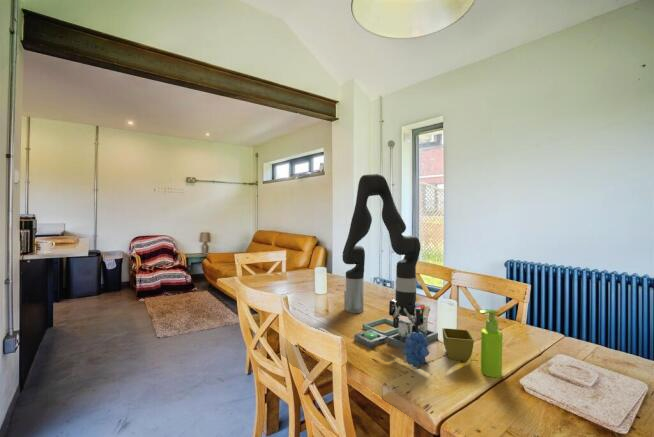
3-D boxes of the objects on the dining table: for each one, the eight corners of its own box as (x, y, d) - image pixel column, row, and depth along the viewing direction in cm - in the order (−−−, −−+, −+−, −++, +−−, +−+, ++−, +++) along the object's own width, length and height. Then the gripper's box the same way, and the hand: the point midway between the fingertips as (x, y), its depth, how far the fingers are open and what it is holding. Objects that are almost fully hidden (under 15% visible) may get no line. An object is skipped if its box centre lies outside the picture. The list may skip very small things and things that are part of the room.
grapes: (415, 378, 94) (415, 339, 94) (398, 369, 100) (398, 332, 99) (438, 367, 101) (439, 331, 100) (421, 359, 106) (421, 325, 106)
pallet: (406, 354, 110) (406, 345, 110) (387, 345, 117) (387, 337, 117) (437, 341, 121) (438, 332, 121) (418, 334, 128) (418, 326, 128)
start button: (361, 341, 120) (361, 334, 120) (370, 338, 123) (370, 331, 123) (370, 346, 116) (370, 338, 116) (380, 342, 119) (380, 335, 119)
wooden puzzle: (389, 316, 152) (389, 309, 152) (396, 305, 169) (396, 299, 169) (426, 321, 145) (426, 313, 145) (430, 309, 162) (430, 302, 162)
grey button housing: (354, 342, 120) (354, 334, 120) (370, 336, 126) (370, 329, 125) (370, 350, 113) (370, 342, 113) (387, 344, 118) (387, 336, 118)
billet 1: (395, 342, 117) (395, 321, 117) (403, 339, 120) (404, 318, 120) (406, 347, 113) (406, 324, 113) (414, 344, 116) (414, 322, 116)
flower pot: (474, 366, 101) (474, 339, 101) (446, 364, 103) (446, 337, 103) (467, 354, 110) (467, 329, 110) (441, 352, 112) (442, 327, 112)
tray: (362, 330, 132) (362, 324, 132) (385, 323, 140) (385, 317, 140) (383, 340, 122) (383, 333, 122) (406, 332, 130) (406, 325, 130)
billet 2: (411, 337, 122) (411, 316, 122) (419, 334, 125) (419, 313, 125) (422, 341, 118) (422, 319, 118) (430, 338, 121) (430, 317, 121)
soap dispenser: (474, 368, 100) (474, 307, 100) (494, 367, 101) (495, 307, 100) (484, 378, 94) (485, 313, 94) (506, 377, 95) (507, 313, 95)
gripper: (384, 286, 119) (384, 327, 120) (415, 294, 108) (414, 340, 108) (397, 283, 124) (397, 323, 124) (428, 291, 112) (427, 335, 113)
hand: (405, 331), depth 116 cm, fingers open, 8 cm apart
